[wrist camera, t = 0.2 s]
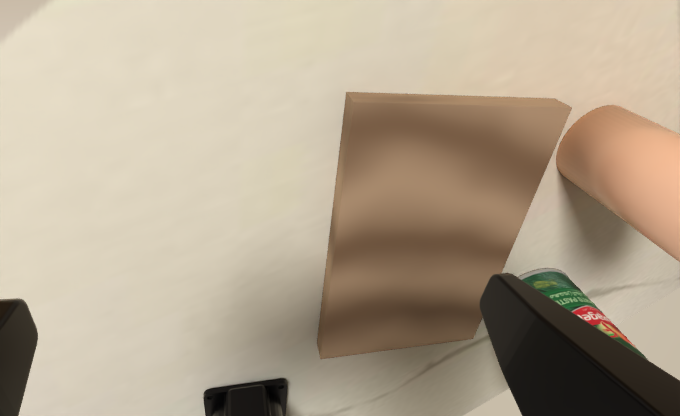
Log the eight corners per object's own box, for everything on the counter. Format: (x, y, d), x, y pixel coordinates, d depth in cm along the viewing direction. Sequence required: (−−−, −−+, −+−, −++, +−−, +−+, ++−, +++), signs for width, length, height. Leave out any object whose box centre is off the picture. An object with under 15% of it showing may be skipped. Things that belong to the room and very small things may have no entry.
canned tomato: (575, 256, 34) (699, 373, 25) (561, 316, 39) (661, 432, 30) (486, 284, 33) (581, 414, 25) (483, 342, 38) (561, 468, 29)
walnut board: (464, 324, 36) (473, 338, 35) (316, 342, 32) (320, 359, 31) (555, 98, 25) (571, 107, 24) (346, 92, 22) (353, 102, 20)
